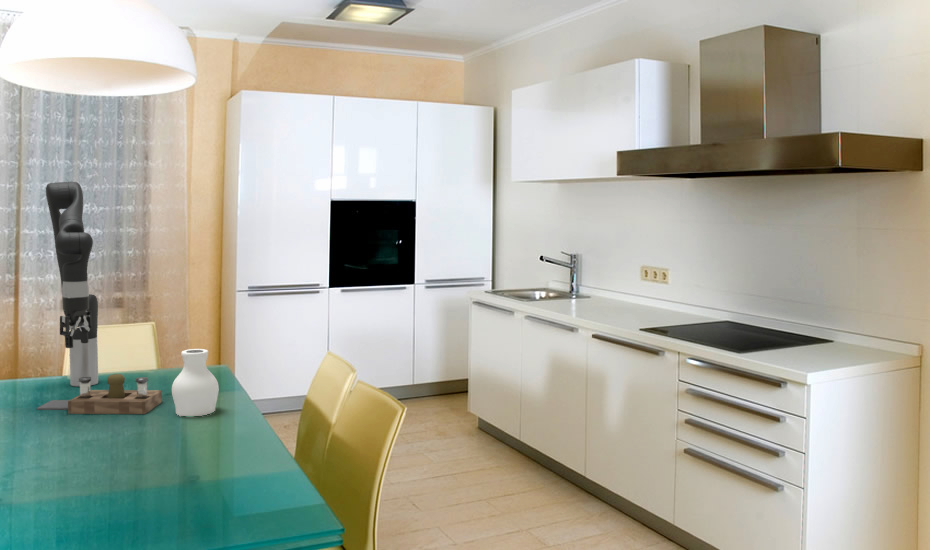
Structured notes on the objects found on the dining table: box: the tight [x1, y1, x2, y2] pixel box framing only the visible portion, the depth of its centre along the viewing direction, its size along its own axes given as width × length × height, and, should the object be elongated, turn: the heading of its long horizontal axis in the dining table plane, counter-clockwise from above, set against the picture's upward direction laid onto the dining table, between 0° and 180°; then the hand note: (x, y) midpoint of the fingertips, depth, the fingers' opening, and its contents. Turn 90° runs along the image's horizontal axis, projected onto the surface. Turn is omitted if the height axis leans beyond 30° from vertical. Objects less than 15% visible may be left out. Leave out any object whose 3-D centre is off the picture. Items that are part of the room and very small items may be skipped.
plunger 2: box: [134, 376, 149, 399], centre depth 246 cm, size 4×4×8 cm
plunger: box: [78, 377, 92, 399], centre depth 245 cm, size 4×4×8 cm
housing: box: [67, 389, 163, 415], centre depth 248 cm, size 15×24×4 cm, turn 93°
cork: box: [106, 373, 126, 399], centre depth 248 cm, size 6×6×11 cm
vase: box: [171, 348, 220, 417], centre depth 244 cm, size 14×14×20 cm
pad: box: [36, 399, 70, 411], centre depth 249 cm, size 10×10×1 cm
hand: (77, 345), depth 243 cm, fingers open, 8 cm apart
